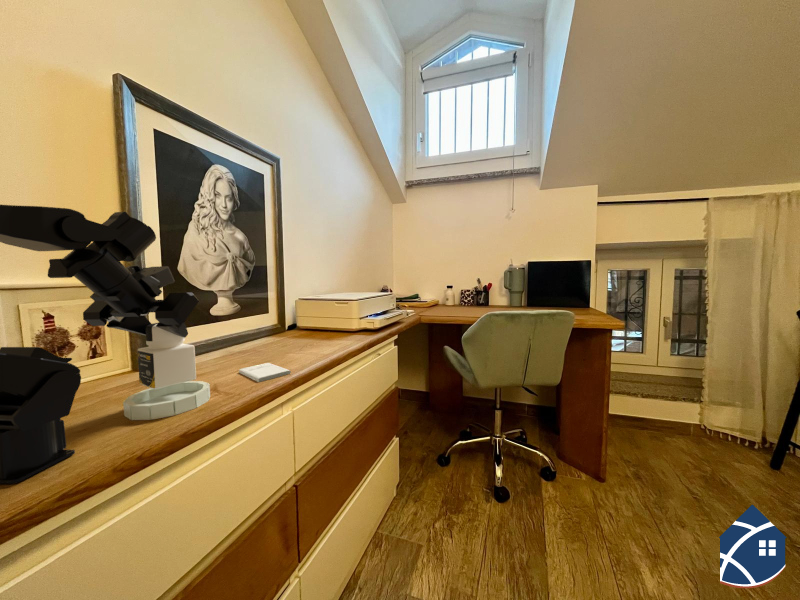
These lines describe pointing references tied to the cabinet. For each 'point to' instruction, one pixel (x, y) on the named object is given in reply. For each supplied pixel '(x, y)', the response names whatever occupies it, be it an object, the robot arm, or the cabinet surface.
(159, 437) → the cabinet surface
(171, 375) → the medicine bottle
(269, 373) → the external hard drive
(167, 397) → the pale green round tray
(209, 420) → the cabinet surface
